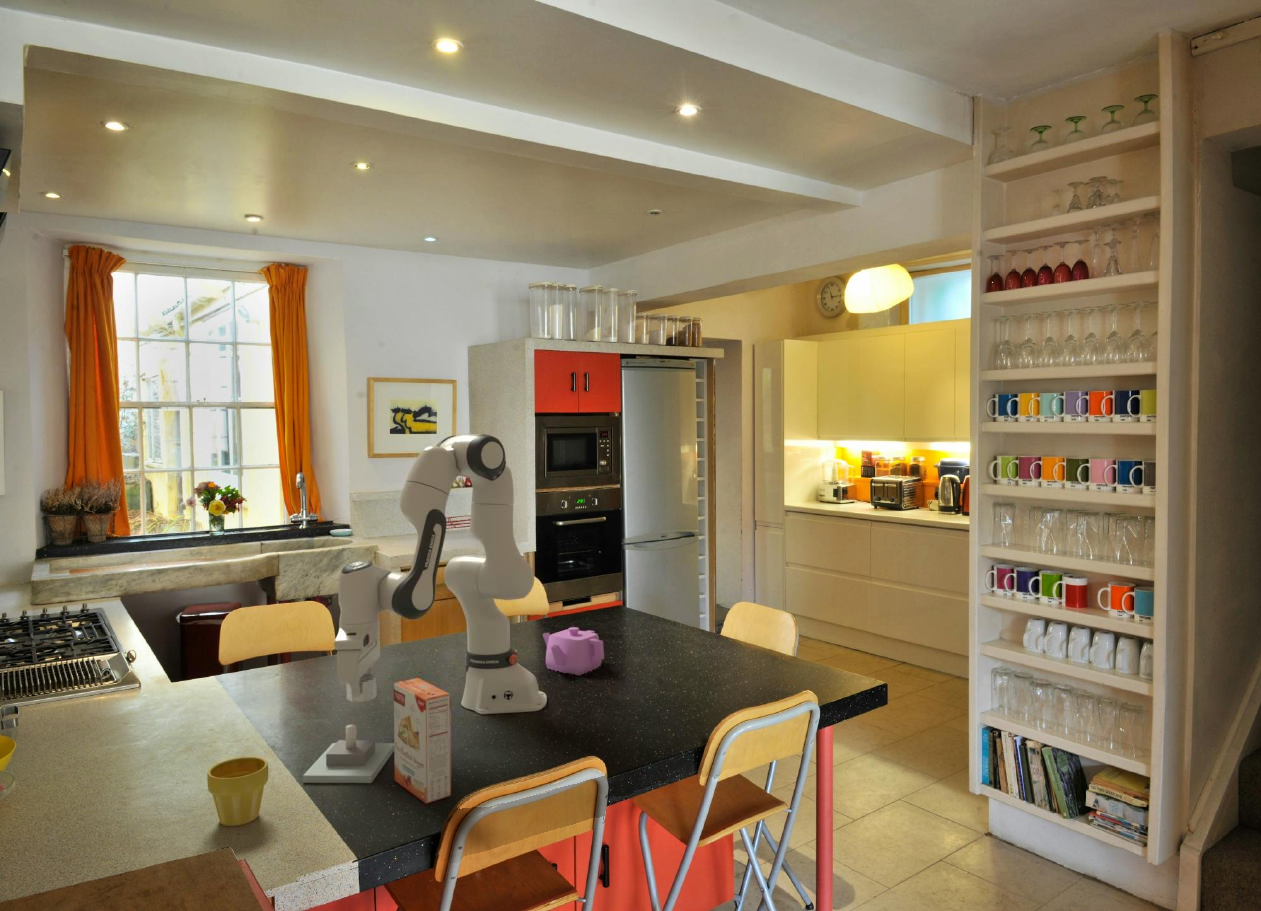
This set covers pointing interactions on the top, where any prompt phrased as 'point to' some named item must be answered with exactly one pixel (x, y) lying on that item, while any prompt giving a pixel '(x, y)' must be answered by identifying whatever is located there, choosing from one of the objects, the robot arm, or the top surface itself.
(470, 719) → the top surface
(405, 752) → the cracker box
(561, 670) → the teakettle
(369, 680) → the ring
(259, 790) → the plant pot
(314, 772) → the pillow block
